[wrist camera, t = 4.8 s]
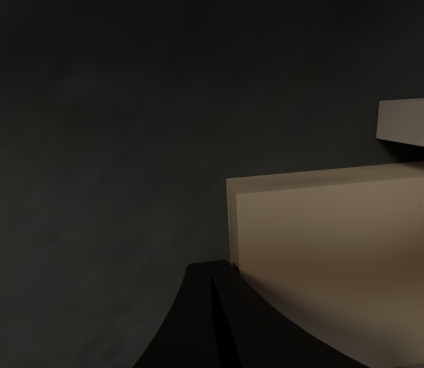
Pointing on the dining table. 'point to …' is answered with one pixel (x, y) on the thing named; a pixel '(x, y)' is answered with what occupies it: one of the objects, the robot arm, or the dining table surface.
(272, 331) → the robot arm
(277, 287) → the tile
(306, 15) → the dining table surface
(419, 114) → the bridge
